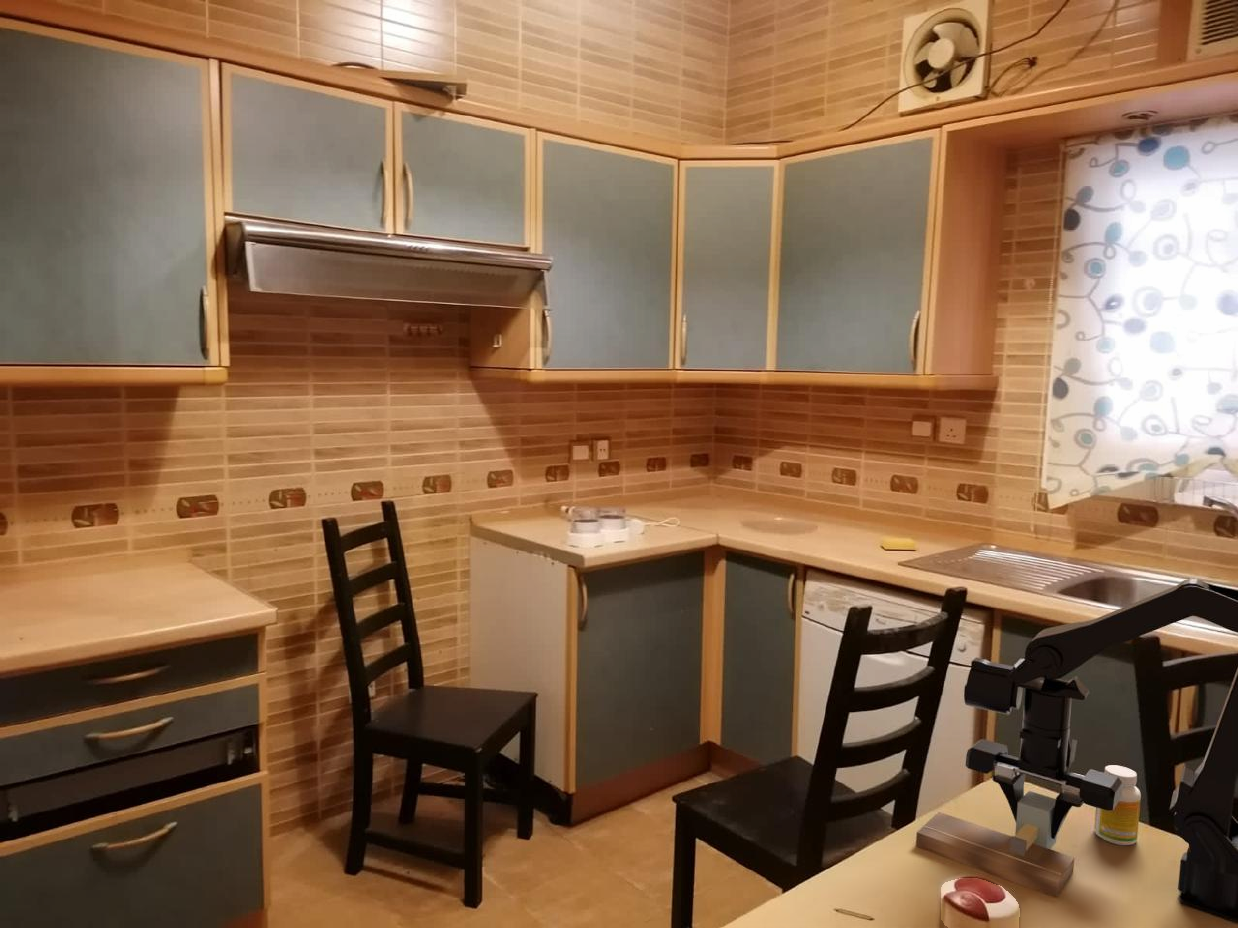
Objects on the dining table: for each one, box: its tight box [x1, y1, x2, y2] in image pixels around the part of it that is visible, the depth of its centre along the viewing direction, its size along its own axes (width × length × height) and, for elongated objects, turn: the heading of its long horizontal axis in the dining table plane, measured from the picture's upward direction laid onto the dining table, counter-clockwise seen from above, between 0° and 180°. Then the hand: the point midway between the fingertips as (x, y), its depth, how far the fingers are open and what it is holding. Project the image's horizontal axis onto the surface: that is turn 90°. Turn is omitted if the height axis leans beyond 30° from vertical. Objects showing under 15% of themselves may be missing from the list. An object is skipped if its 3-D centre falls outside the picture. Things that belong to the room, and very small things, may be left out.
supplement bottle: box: [1093, 764, 1142, 846], centre depth 127 cm, size 5×5×10 cm
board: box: [915, 811, 1075, 898], centre depth 121 cm, size 18×8×2 cm, turn 50°
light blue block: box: [1009, 790, 1058, 856], centre depth 121 cm, size 4×11×6 cm, turn 140°
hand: (1036, 832), depth 124 cm, fingers closed on light blue block, 4 cm apart
